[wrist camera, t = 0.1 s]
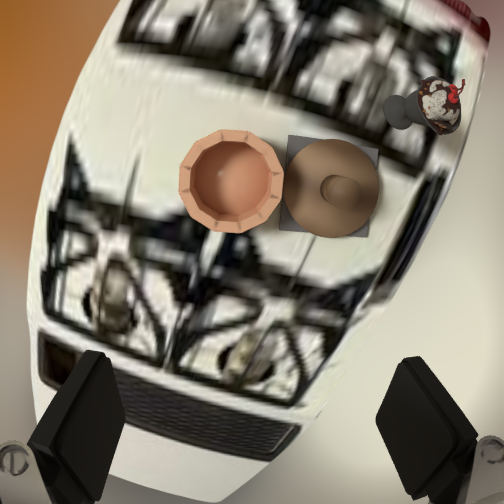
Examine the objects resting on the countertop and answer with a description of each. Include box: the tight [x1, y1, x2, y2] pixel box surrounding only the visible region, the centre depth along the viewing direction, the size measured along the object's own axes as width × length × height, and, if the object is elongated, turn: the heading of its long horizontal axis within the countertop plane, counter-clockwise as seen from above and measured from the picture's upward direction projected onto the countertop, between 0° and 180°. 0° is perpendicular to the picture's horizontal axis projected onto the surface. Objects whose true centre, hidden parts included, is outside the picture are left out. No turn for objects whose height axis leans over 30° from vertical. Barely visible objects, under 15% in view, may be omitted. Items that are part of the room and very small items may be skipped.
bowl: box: [179, 129, 284, 233], centre depth 34 cm, size 11×11×5 cm
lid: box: [283, 139, 379, 238], centre depth 34 cm, size 12×12×6 cm
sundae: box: [384, 76, 465, 135], centre depth 28 cm, size 7×7×15 cm
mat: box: [279, 135, 378, 237], centre depth 37 cm, size 12×12×1 cm
